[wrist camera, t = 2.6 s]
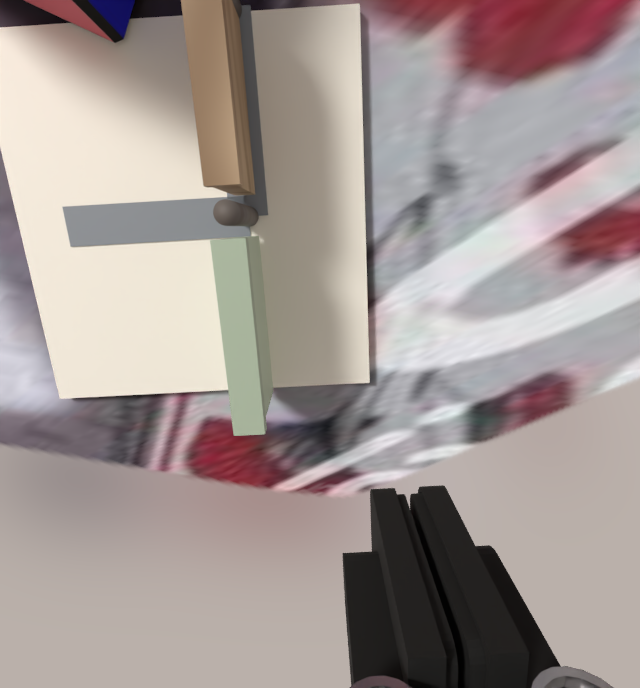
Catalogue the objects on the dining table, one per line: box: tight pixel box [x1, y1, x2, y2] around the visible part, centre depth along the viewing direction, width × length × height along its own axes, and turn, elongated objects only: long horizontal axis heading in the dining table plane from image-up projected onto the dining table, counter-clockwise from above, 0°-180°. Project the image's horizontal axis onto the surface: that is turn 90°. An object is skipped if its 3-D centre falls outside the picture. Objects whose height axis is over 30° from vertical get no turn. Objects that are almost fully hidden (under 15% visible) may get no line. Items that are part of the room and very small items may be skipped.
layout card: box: [0, 4, 370, 399], centre depth 22 cm, size 18×19×1 cm
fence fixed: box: [181, 0, 259, 226], centre depth 18 cm, size 1×10×6 cm, turn 3°
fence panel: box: [210, 236, 273, 436], centre depth 20 cm, size 8×1×5 cm, turn 3°
